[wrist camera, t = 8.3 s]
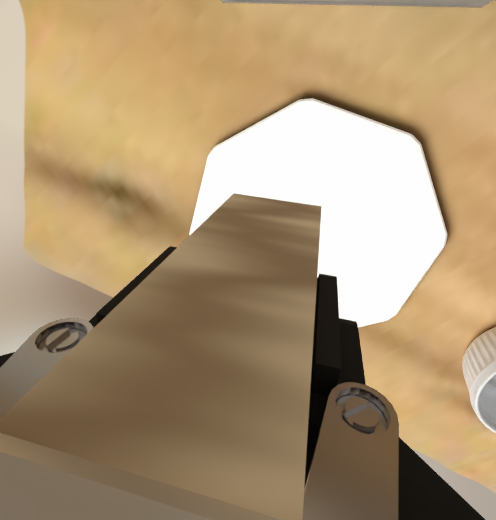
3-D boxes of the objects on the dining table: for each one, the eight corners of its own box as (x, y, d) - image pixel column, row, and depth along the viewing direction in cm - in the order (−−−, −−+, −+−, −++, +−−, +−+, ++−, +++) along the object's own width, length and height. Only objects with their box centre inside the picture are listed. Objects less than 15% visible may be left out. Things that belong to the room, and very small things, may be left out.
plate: (361, 355, 44) (362, 363, 43) (180, 282, 46) (175, 287, 44) (494, 164, 31) (502, 166, 30) (232, 68, 32) (228, 67, 31)
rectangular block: (321, 206, 14) (276, 955, 2) (305, 283, 16) (230, 910, 4) (233, 193, 15) (-262, 671, 2) (228, 269, 16) (-63, 758, 4)
